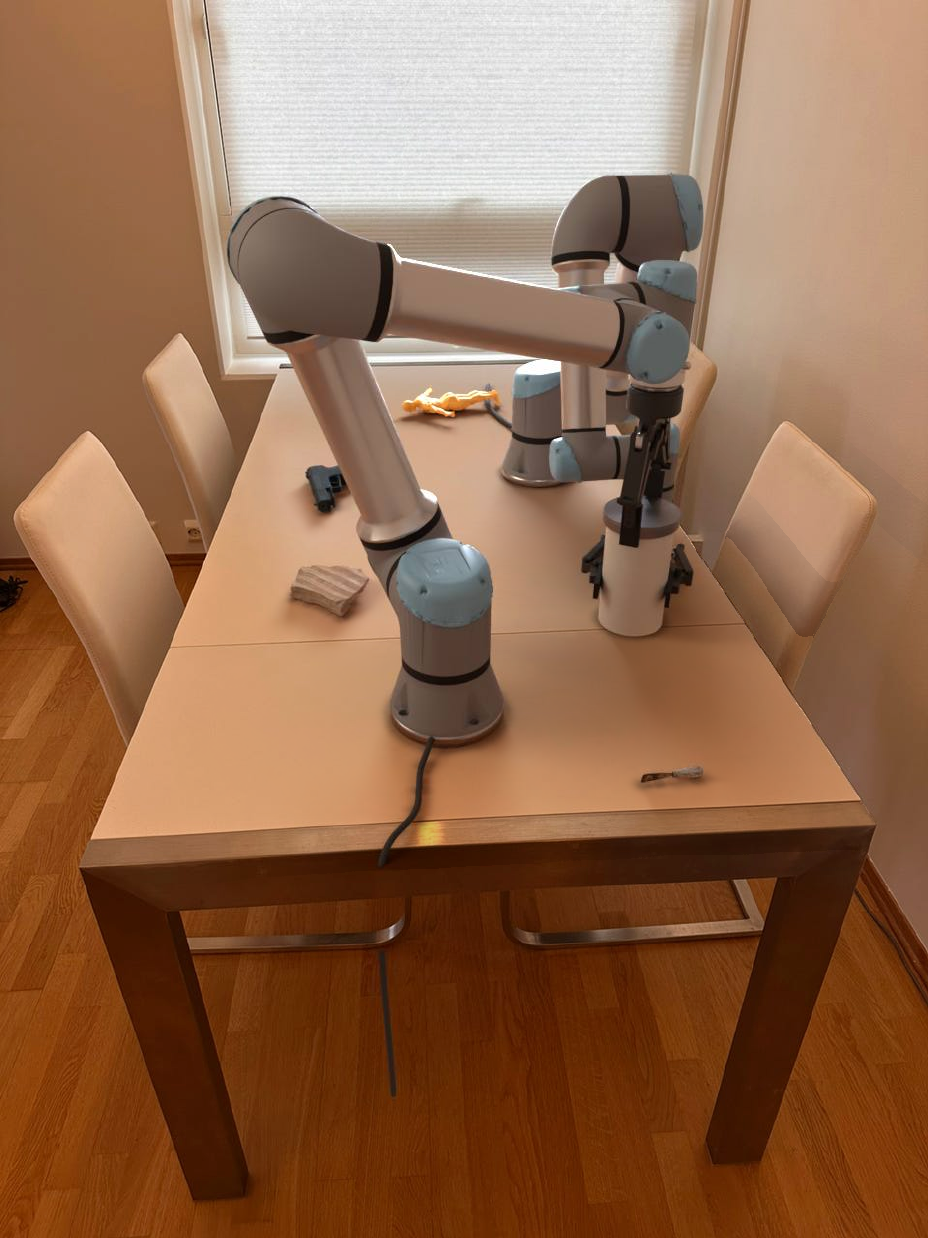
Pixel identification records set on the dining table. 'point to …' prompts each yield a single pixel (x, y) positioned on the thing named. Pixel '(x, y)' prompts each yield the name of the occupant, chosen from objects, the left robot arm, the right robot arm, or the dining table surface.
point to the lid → (646, 517)
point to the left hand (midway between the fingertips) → (640, 527)
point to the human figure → (448, 402)
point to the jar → (634, 584)
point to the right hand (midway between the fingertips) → (631, 595)
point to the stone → (329, 586)
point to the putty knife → (674, 774)
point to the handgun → (325, 485)
